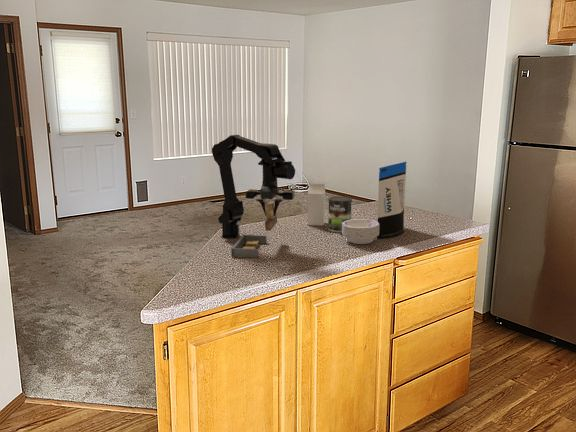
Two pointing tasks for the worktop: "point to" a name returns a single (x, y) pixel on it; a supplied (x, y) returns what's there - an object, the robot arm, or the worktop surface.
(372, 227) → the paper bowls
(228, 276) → the worktop surface
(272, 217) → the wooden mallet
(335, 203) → the coffee can
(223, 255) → the worktop surface
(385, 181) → the protein powder
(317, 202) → the milk carton
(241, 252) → the tray
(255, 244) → the tan square block
